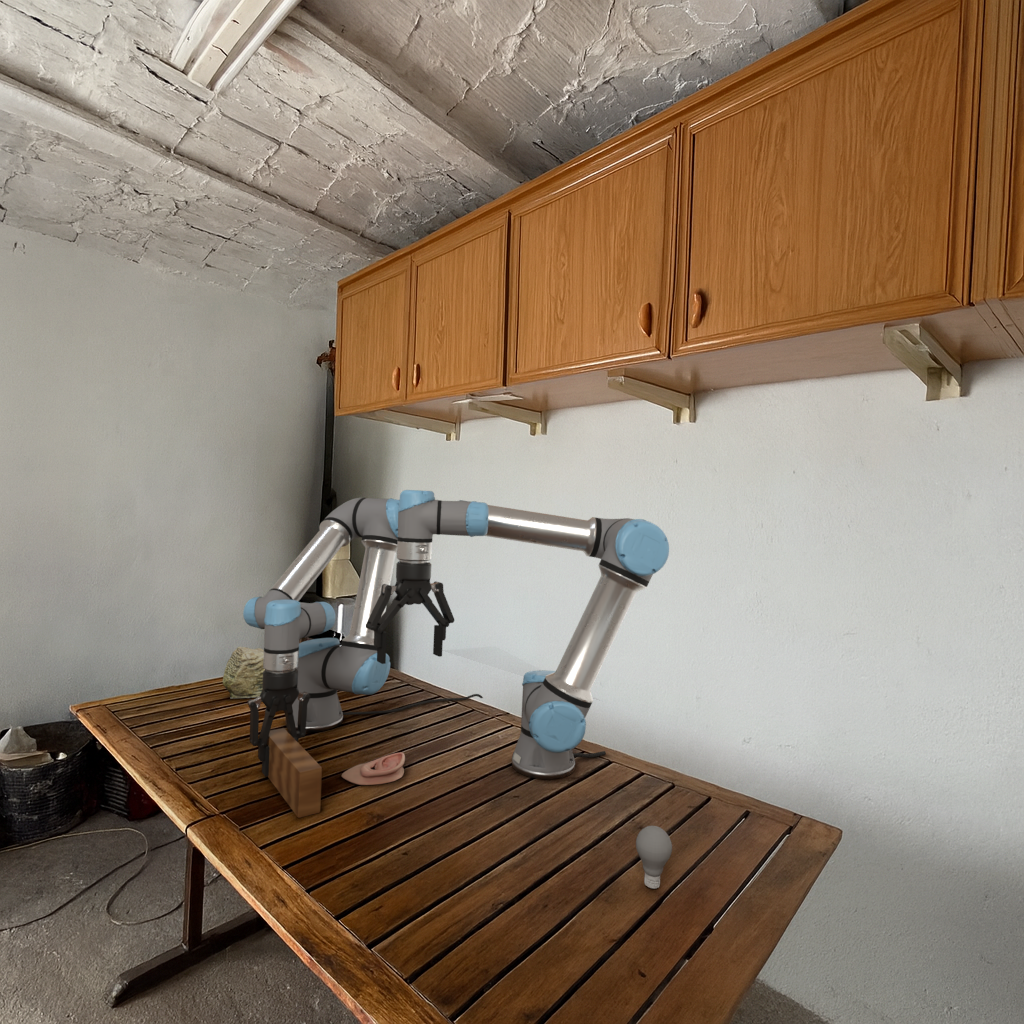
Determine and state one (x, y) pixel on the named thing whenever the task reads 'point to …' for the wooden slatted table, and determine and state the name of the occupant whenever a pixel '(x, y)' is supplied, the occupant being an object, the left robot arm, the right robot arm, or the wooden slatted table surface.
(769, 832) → the wooden slatted table surface
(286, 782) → the bar
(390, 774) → the anatomical model
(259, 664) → the fossil
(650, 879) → the light bulb
